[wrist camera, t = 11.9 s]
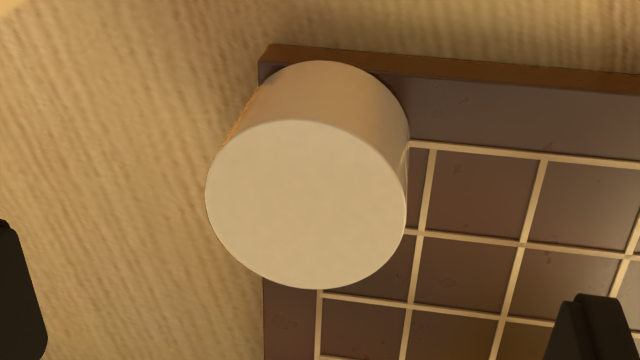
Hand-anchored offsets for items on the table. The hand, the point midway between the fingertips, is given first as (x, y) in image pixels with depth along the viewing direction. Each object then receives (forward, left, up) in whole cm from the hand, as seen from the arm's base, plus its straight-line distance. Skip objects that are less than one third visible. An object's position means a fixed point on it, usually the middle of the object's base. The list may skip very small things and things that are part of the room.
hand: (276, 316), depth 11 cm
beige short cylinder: (+1, 0, -8) cm, 8 cm away
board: (+6, +6, -9) cm, 13 cm away
